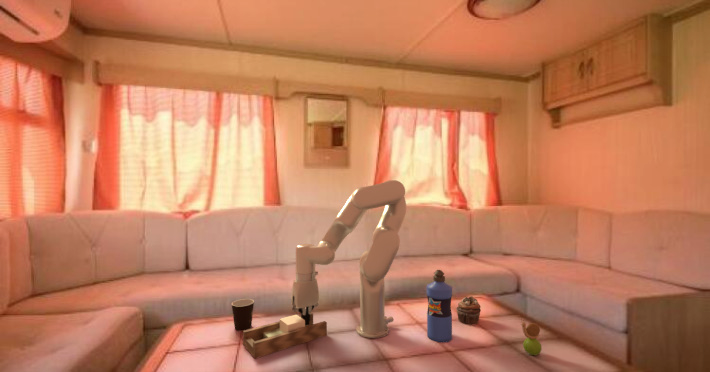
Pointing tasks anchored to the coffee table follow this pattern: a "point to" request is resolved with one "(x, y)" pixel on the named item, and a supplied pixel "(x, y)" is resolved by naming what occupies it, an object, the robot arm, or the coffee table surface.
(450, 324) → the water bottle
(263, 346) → the box
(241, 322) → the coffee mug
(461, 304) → the cupcake
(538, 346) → the snail figurine
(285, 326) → the cream block
